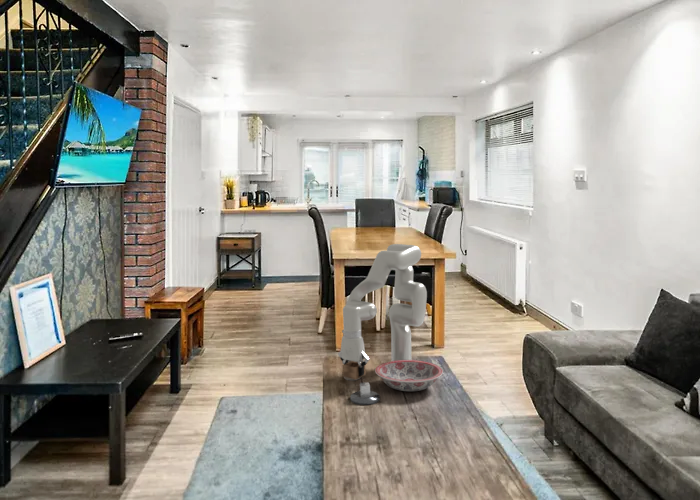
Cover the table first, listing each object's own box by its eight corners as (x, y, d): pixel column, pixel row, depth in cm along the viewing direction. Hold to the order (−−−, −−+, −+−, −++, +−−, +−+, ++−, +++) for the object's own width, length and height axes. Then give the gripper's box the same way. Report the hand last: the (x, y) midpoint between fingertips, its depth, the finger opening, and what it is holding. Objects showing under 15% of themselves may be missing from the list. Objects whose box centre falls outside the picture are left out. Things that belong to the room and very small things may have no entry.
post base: (348, 395, 236) (348, 380, 235) (376, 393, 238) (376, 378, 237) (352, 406, 224) (352, 390, 224) (382, 403, 226) (382, 388, 225)
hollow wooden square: (342, 376, 243) (342, 365, 242) (352, 371, 248) (352, 360, 248) (356, 379, 239) (355, 368, 238) (365, 374, 244) (365, 363, 244)
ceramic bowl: (446, 379, 254) (446, 362, 253) (438, 403, 226) (438, 383, 225) (383, 374, 262) (382, 358, 261) (368, 397, 234) (368, 378, 233)
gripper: (331, 333, 243) (333, 372, 246) (364, 338, 233) (365, 380, 235) (341, 329, 249) (343, 367, 252) (374, 334, 239) (375, 374, 241)
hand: (354, 373), depth 243 cm, fingers closed on hollow wooden square, 7 cm apart
